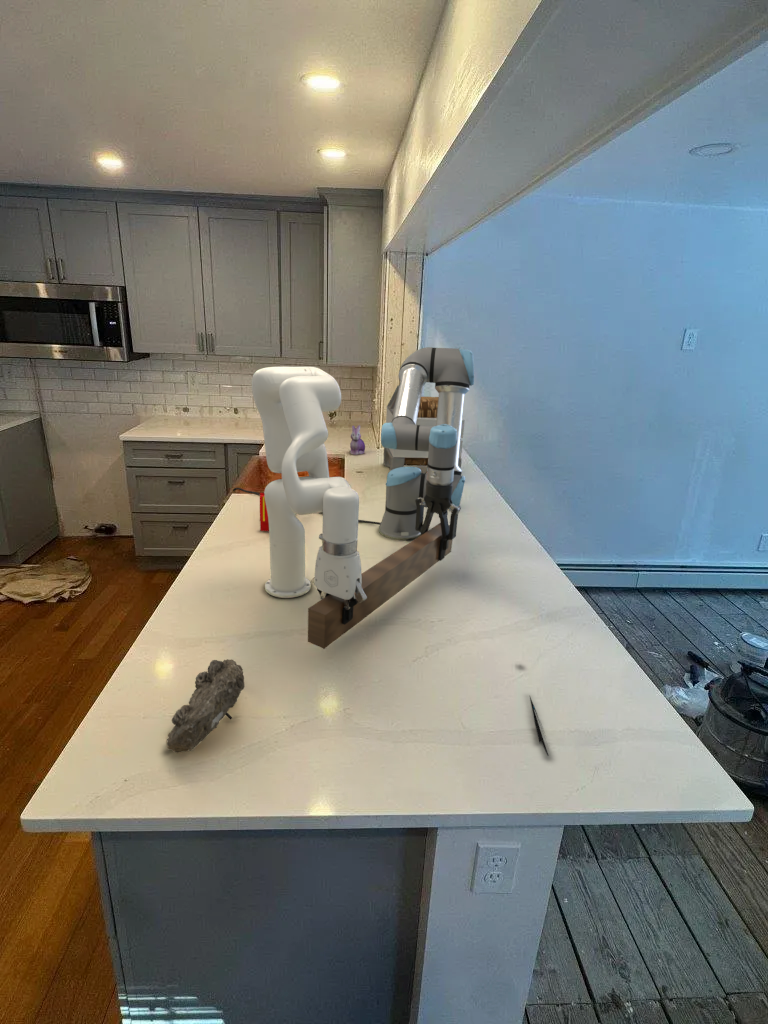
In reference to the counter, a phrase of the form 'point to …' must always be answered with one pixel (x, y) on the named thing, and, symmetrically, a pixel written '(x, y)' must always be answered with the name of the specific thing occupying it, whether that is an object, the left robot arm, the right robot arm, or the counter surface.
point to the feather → (538, 726)
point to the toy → (263, 514)
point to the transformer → (425, 417)
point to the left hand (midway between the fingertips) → (337, 617)
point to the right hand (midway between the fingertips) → (433, 556)
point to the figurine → (356, 442)
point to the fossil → (206, 705)
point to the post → (375, 587)
